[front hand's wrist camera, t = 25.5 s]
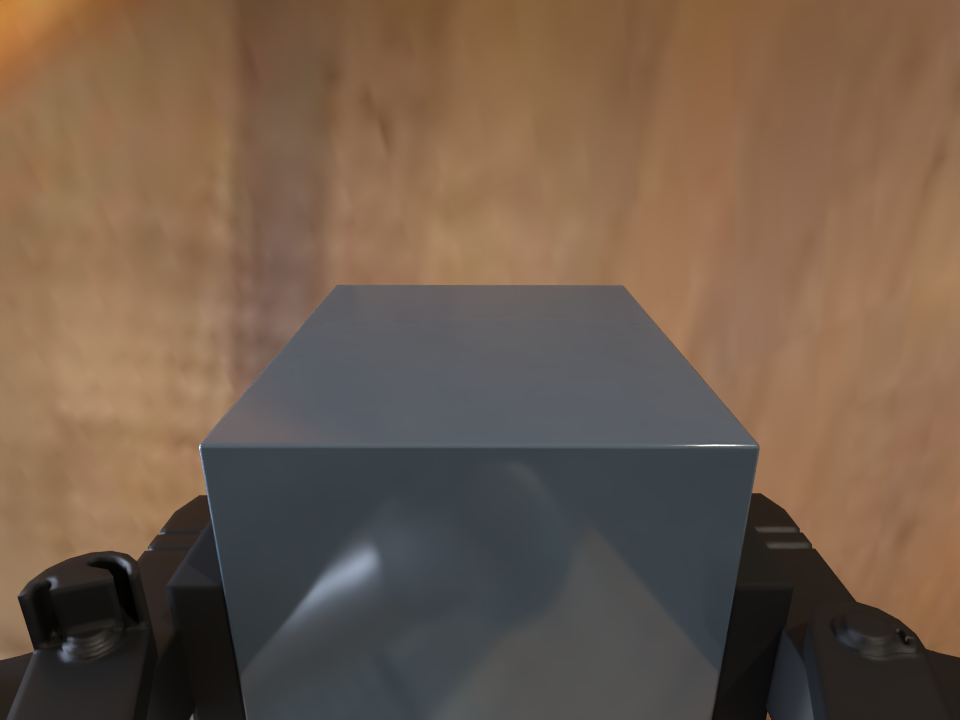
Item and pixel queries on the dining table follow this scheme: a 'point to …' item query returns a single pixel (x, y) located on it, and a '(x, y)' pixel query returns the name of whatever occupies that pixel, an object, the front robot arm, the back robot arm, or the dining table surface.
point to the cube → (479, 511)
